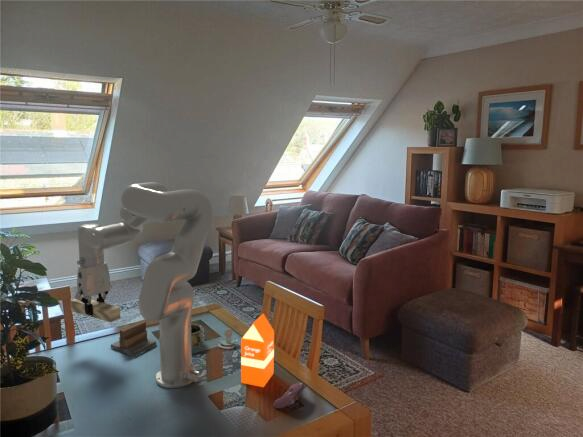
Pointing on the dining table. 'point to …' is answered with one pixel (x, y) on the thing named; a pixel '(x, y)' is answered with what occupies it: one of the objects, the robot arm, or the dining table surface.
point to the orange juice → (257, 353)
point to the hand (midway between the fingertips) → (95, 311)
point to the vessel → (196, 336)
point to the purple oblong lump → (290, 395)
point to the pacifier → (227, 340)
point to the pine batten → (97, 310)
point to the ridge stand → (133, 340)
